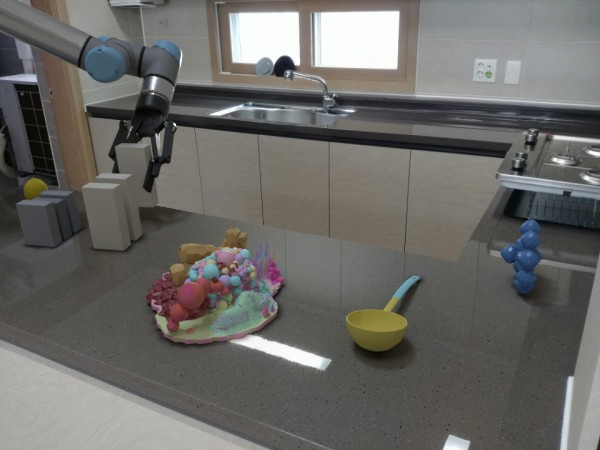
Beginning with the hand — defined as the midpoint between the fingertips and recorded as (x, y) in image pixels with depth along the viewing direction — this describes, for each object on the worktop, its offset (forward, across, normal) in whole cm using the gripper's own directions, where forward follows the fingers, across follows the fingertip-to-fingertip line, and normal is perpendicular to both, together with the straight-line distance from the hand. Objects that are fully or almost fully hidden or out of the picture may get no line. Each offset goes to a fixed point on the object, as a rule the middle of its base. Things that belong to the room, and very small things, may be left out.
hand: (131, 189), depth 119 cm
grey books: (+12, +16, -1) cm, 20 cm away
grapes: (+16, -80, +3) cm, 81 cm away
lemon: (+1, +31, -12) cm, 33 cm away
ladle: (+25, -60, +12) cm, 66 cm away
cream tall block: (+1, 0, -6) cm, 6 cm away
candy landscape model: (+25, -30, +12) cm, 41 cm away
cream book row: (+12, 0, -1) cm, 12 cm away
